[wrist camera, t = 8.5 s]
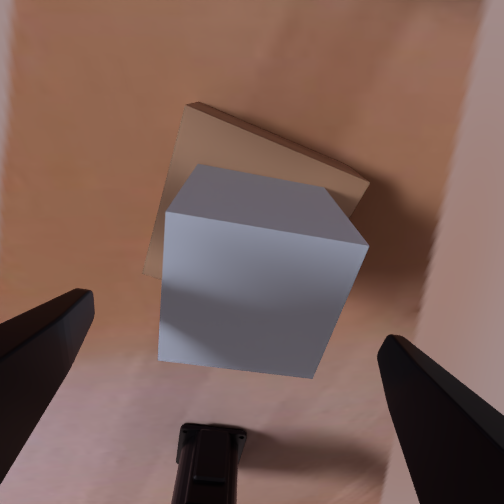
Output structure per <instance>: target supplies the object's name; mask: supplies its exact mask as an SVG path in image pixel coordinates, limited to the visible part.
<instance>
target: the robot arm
mask: <svg viewBox="0 0 504 504" xmlns="http://www.w3.org/2000/svg"><path fill="white" fill-rule="evenodd" d="M94 314H95V310H94V297H93V292H92V291H91V290H87V289H80V288H76V289H73V290H71V291H69V292H67V293H65V294H63V295H61V296H58V297H56V298H54V299H52V300H50V301H48V302H46V303H44V304H41V305H39V306H37V307H35V308H33V309H31V310H29V311H27V312H24V313H22V314H20V315H18V316H16V317H14V318H12V319H10V320H7V321H5V322H3V323H1V324H0V484H1V483H2V481H3V479H4V478H5V476H6V474H7V473H8V471H9V469H10V468H11V466H12V464H13V463H14V461H15V460H16V458H17V456H18V455H19V453H20V451H21V450H22V448H23V446H24V445H25V443H26V441H27V440H28V438H29V436H30V435H31V433H32V431H33V430H34V428H35V427H36V425H37V423H38V422H39V420H40V418H41V417H42V415H43V413H44V412H45V410H46V408H47V407H48V405H49V403H50V402H51V400H52V398H53V397H54V395H55V394H56V392H57V390H58V389H59V387H60V385H61V384H62V382H63V380H64V379H65V377H66V375H67V374H68V372H69V370H70V368H71V366H72V364H73V362H74V360H75V358H76V356H77V354H78V352H79V349H80V347H81V345H82V343H83V341H84V339H85V336H86V334H87V332H88V330H89V328H90V326H91V324H92V321H93V319H94ZM377 360H378V365H379V369H380V374H381V378H382V383H383V387H384V392H385V396H386V400H387V404H388V408H389V411H390V415H391V418H392V421H393V424H394V427H395V430H396V433H397V436H398V439H399V442H400V445H401V448H402V451H403V454H404V457H405V460H406V463H407V466H408V469H409V472H410V475H411V478H412V481H413V484H414V487H415V490H416V494H417V496H418V500H419V503H420V504H504V415H502V414H501V413H500V412H498V411H497V410H496V409H495V408H493V407H492V406H491V405H490V404H488V403H487V402H486V401H485V400H483V399H482V398H481V397H479V396H478V395H477V394H475V393H474V392H473V391H472V390H470V389H469V388H468V387H467V386H465V385H464V384H463V383H461V382H460V381H459V380H458V379H457V378H455V377H454V376H453V375H451V374H450V373H449V372H447V371H446V370H445V369H444V368H443V367H441V366H440V365H439V364H437V363H436V362H435V361H434V360H432V359H431V358H430V357H429V356H427V355H426V354H425V353H423V352H422V351H421V350H420V349H418V348H417V347H416V346H415V345H413V344H412V343H411V342H410V341H408V340H407V339H406V338H404V337H403V336H400V335H393V334H390V335H388V336H387V337H386V339H385V340H384V342H383V344H382V346H381V348H380V349H379V351H378V354H377ZM246 438H247V433H246V432H245V431H243V430H233V429H224V428H215V427H205V426H196V425H187V424H184V425H182V426H181V429H180V435H179V442H178V450H177V458H176V463H177V464H179V465H178V470H177V476H176V481H175V486H174V491H173V497H172V502H171V504H236V502H237V471H238V463H239V460H240V457H241V454H242V451H243V447H244V444H245V441H246Z"/></svg>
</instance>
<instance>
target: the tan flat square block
mask: <svg viewBox="0 0 504 504" xmlns="http://www.w3.org/2000/svg"><path fill="white" fill-rule="evenodd" d="M197 164H202V165H207V166H213V167H218V168H223V169H229V170H234V171H239V172H245V173H250V174H255V175H261V176H266V177H271V178H277V179H282V180H287V181H293V182H298V183H304V184H309V185H314V186H320V187H324V188H325V189H326V190H327V192H328V193H329V194H330V196H331V197H332V198H333V199H334V201H335V202H336V203H337V205H338V206H339V207H340V209H341V210H342V211H343V212H344V214H345V215H346V216H347V218H348V219H349V218H350V216H351V214H352V213H353V211H354V209H355V208H356V206H357V204H358V203H359V201H360V199H361V198H362V196H363V194H364V192H365V191H366V189H367V187H368V186H369V184H370V182H369V181H367V180H366V179H365V178H363V177H362V176H361V175H360V174H358V173H357V172H356V171H354V170H353V169H352V168H351V167H349V166H348V165H346V164H343V163H341V162H339V161H336V160H334V159H332V158H329V157H327V156H325V155H322V154H320V153H317V152H315V151H313V150H310V149H308V148H306V147H303V146H301V145H299V144H296V143H294V142H292V141H289V140H287V139H285V138H282V137H280V136H278V135H275V134H273V133H271V132H268V131H266V130H263V129H261V128H259V127H256V126H254V125H252V124H249V123H247V122H245V121H242V120H240V119H238V118H235V117H233V116H231V115H228V114H226V113H224V112H221V111H219V110H217V109H214V108H212V107H210V106H207V105H205V104H202V103H200V102H196V103H191V104H187V105H185V107H184V111H183V115H182V119H181V123H180V127H179V131H178V135H177V139H176V142H175V146H174V150H173V154H172V158H171V162H170V166H169V170H168V174H167V178H166V182H165V186H164V189H163V193H162V197H161V201H160V205H159V209H158V213H157V217H156V221H155V225H154V229H153V232H152V236H151V240H150V244H149V248H148V252H147V256H146V260H145V264H144V268H143V272H142V274H144V275H148V276H151V277H154V278H157V279H161V280H162V270H163V251H164V232H165V213H166V210H167V209H168V207H169V206H170V204H171V203H172V201H173V200H174V198H175V197H176V195H177V194H178V192H179V191H180V189H181V188H182V186H183V185H184V183H185V182H186V180H187V179H188V177H189V176H190V175H191V173H192V172H193V170H194V169H195V167H196V166H197Z"/></svg>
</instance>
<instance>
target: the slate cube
mask: <svg viewBox="0 0 504 504" xmlns="http://www.w3.org/2000/svg"><path fill="white" fill-rule="evenodd" d="M368 248H369V245H368V243H367V242H366V241H365V240H364V238H363V237H362V236H361V234H360V233H359V232H358V230H357V229H356V228H355V227H354V225H353V224H352V223H351V221H350V220H349V219H348V218H347V216H346V215H345V214H344V212H343V211H342V210H341V209H340V207H339V206H338V205H337V203H336V202H335V201H334V199H333V198H332V197H331V196H330V194H329V193H328V192H327V190H326V189H325V188H324V187H320V186H314V185H309V184H304V183H298V182H293V181H287V180H282V179H277V178H271V177H266V176H261V175H255V174H250V173H245V172H239V171H234V170H229V169H223V168H218V167H213V166H207V165H202V164H197V166H196V167H195V169H194V170H193V172H192V173H191V175H190V176H189V177H188V179H187V180H186V182H185V183H184V185H183V186H182V188H181V189H180V191H179V192H178V194H177V195H176V197H175V198H174V200H173V201H172V203H171V204H170V206H169V207H168V209H167V210H166V213H165V232H164V251H163V270H162V289H161V309H160V328H159V347H158V360H159V361H167V362H175V363H184V364H192V365H201V366H209V367H217V368H226V369H234V370H242V371H251V372H259V373H268V374H276V375H284V376H293V377H301V378H309V379H313V377H314V374H315V372H316V370H317V367H318V365H319V363H320V360H321V358H322V356H323V353H324V351H325V349H326V346H327V344H328V342H329V339H330V337H331V335H332V332H333V330H334V328H335V325H336V323H337V321H338V318H339V316H340V314H341V311H342V309H343V307H344V304H345V302H346V300H347V297H348V295H349V293H350V290H351V288H352V286H353V283H354V281H355V279H356V276H357V274H358V272H359V269H360V267H361V265H362V262H363V260H364V258H365V255H366V253H367V251H368Z"/></svg>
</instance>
